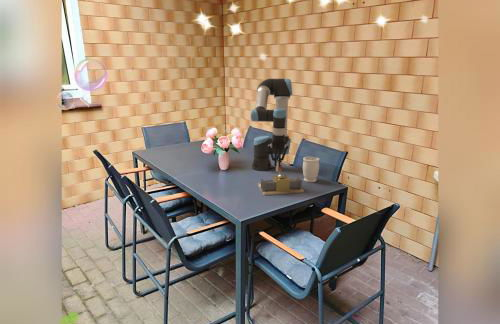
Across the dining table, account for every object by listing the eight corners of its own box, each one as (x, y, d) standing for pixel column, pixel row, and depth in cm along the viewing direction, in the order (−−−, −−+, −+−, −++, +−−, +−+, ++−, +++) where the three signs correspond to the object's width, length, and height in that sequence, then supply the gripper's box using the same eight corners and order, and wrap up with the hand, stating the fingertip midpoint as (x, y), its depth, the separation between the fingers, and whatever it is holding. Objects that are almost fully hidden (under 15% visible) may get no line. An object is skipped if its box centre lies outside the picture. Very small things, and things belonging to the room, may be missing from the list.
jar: (306, 183, 227) (307, 161, 223) (299, 178, 236) (300, 157, 232) (321, 182, 230) (322, 160, 225) (314, 177, 239) (315, 155, 235)
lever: (284, 178, 211) (284, 174, 210) (278, 178, 211) (278, 174, 210) (282, 169, 228) (282, 165, 227) (276, 169, 228) (276, 165, 227)
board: (257, 184, 225) (257, 182, 225) (295, 182, 229) (295, 180, 229) (263, 195, 208) (263, 193, 208) (304, 192, 212) (304, 190, 212)
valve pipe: (260, 189, 216) (260, 176, 214) (297, 186, 221) (298, 174, 218) (263, 194, 209) (263, 181, 207) (301, 191, 213) (302, 178, 211)
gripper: (268, 135, 211) (267, 172, 218) (289, 135, 211) (287, 173, 218) (268, 132, 218) (266, 168, 225) (288, 133, 218) (286, 169, 225)
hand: (277, 170), depth 221 cm, fingers closed
